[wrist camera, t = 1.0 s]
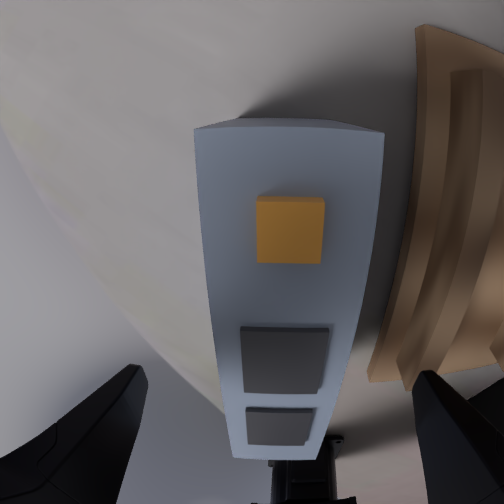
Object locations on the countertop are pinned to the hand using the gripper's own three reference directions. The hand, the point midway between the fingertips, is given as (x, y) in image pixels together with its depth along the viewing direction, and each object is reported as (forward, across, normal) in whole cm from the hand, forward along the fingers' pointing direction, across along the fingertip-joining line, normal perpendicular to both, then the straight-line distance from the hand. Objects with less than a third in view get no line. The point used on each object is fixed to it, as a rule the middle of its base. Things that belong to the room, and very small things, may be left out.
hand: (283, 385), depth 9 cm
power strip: (+7, 0, 0) cm, 7 cm away
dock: (+7, -12, -2) cm, 14 cm away
